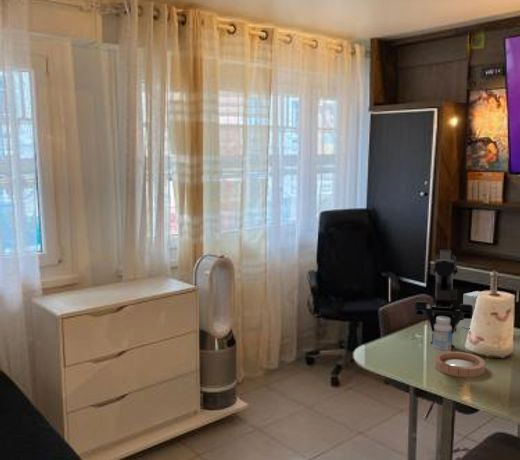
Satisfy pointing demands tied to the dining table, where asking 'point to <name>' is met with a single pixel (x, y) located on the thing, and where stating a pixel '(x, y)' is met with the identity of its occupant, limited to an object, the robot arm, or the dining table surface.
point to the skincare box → (469, 299)
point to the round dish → (459, 364)
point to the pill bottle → (442, 334)
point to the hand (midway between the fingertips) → (442, 332)
